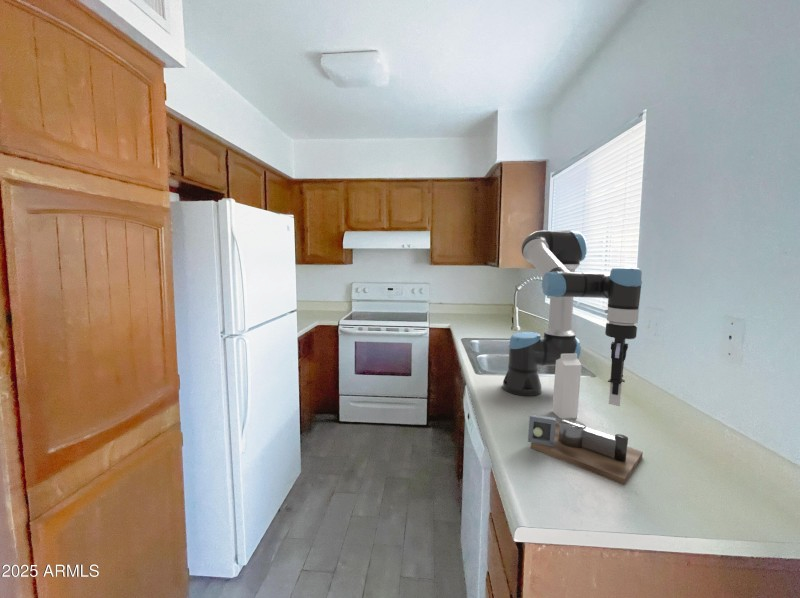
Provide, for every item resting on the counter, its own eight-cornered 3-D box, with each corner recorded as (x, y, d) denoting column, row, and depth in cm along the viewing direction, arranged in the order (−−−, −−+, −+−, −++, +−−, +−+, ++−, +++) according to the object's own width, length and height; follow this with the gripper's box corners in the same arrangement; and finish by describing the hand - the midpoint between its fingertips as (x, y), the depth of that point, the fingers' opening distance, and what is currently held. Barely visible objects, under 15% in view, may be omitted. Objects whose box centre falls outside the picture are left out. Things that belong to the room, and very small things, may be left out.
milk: (552, 411, 134) (555, 351, 132) (568, 411, 135) (572, 351, 132) (560, 419, 128) (565, 356, 126) (577, 418, 129) (582, 355, 126)
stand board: (556, 427, 122) (556, 422, 122) (642, 457, 105) (642, 450, 105) (530, 447, 109) (531, 441, 109) (624, 484, 92) (624, 477, 92)
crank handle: (554, 440, 110) (555, 421, 109) (564, 432, 115) (565, 414, 114) (622, 465, 97) (624, 443, 97) (629, 455, 102) (631, 434, 102)
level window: (528, 439, 111) (529, 413, 110) (553, 444, 108) (555, 418, 107) (527, 443, 108) (529, 417, 107) (553, 448, 106) (555, 422, 105)
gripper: (608, 318, 113) (602, 394, 115) (603, 324, 102) (596, 408, 105) (638, 321, 108) (631, 400, 111) (636, 328, 98) (627, 415, 101)
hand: (614, 404), depth 108 cm, fingers closed
